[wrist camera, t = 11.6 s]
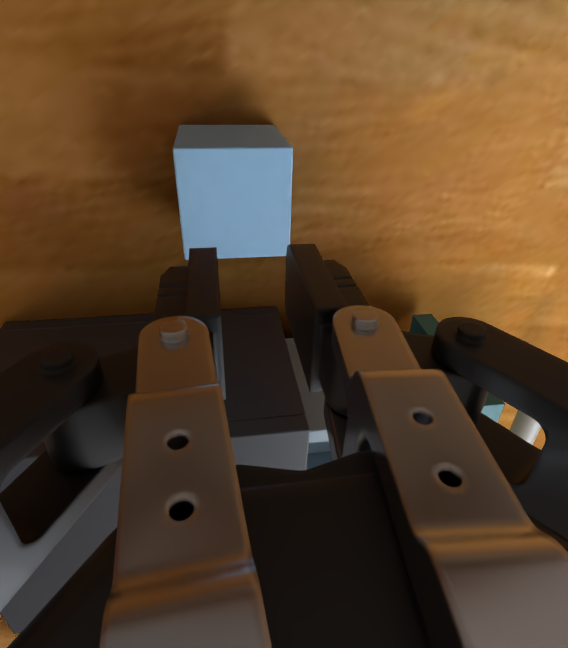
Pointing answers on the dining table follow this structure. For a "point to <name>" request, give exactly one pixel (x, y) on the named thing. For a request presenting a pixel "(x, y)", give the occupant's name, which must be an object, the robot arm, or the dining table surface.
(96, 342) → the cabinet
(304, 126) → the dining table surface
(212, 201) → the blue block
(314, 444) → the drawer
